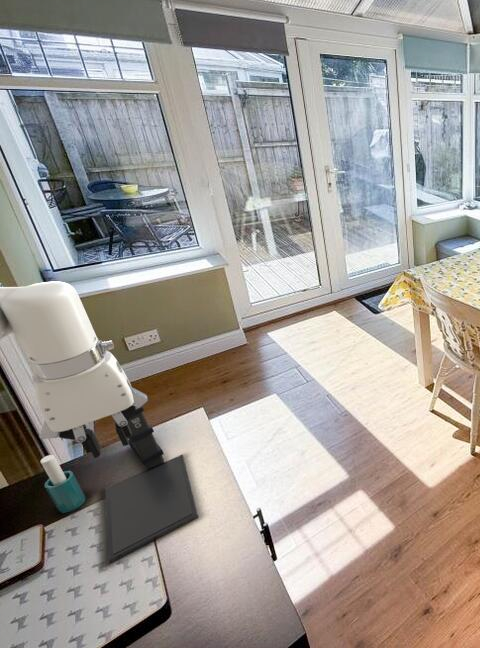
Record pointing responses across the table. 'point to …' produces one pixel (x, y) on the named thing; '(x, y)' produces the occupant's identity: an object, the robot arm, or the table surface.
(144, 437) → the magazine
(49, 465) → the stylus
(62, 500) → the pen pot
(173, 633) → the table surface
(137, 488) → the tablet
